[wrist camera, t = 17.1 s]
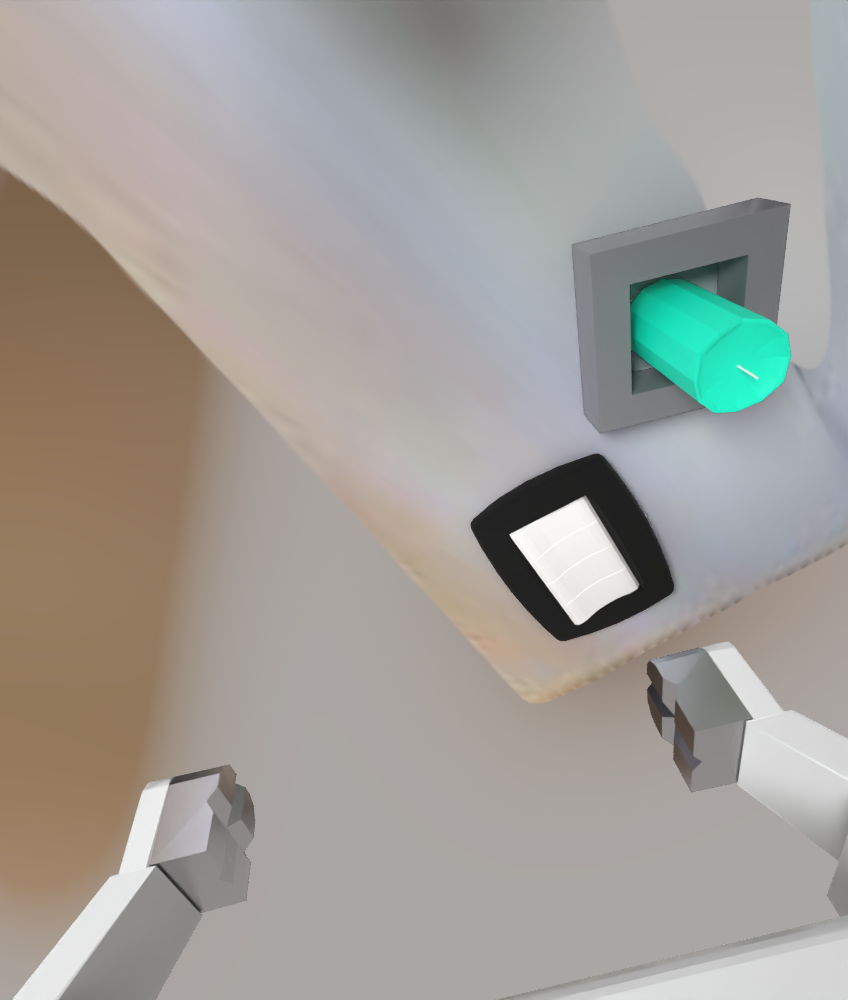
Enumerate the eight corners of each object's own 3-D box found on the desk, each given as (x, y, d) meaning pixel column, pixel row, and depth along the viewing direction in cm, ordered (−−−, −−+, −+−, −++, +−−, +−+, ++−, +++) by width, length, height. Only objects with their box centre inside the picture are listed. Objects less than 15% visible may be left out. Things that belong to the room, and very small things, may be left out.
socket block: (572, 244, 41) (590, 254, 38) (757, 197, 41) (790, 203, 38) (584, 414, 48) (600, 433, 45) (742, 374, 48) (769, 391, 45)
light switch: (457, 533, 51) (611, 452, 47) (454, 512, 53) (600, 434, 49) (558, 658, 61) (691, 600, 57) (552, 636, 63) (679, 579, 59)
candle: (716, 290, 44) (829, 341, 34) (675, 367, 47) (769, 435, 37) (647, 267, 43) (743, 313, 33) (609, 347, 45) (687, 412, 35)
